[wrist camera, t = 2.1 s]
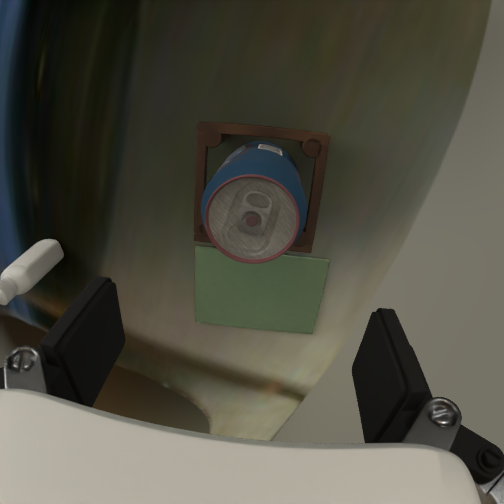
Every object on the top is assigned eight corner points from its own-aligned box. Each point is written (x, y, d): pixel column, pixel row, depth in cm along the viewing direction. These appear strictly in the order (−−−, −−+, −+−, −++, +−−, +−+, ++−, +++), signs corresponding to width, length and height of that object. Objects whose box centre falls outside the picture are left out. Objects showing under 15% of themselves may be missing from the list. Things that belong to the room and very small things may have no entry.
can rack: (205, 220, 33) (193, 241, 28) (209, 118, 28) (197, 122, 24) (306, 230, 32) (311, 253, 28) (321, 129, 28) (330, 135, 23)
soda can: (283, 219, 32) (286, 285, 21) (215, 197, 31) (184, 254, 21) (307, 153, 29) (327, 187, 18) (235, 129, 28) (210, 149, 18)
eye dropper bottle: (32, 230, 35) (-28, 277, 24) (65, 242, 35) (6, 296, 24) (34, 258, 37) (-20, 309, 26) (65, 271, 37) (14, 328, 26)
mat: (196, 319, 38) (195, 321, 38) (195, 245, 34) (195, 246, 34) (312, 332, 38) (312, 334, 38) (329, 259, 34) (329, 261, 33)
